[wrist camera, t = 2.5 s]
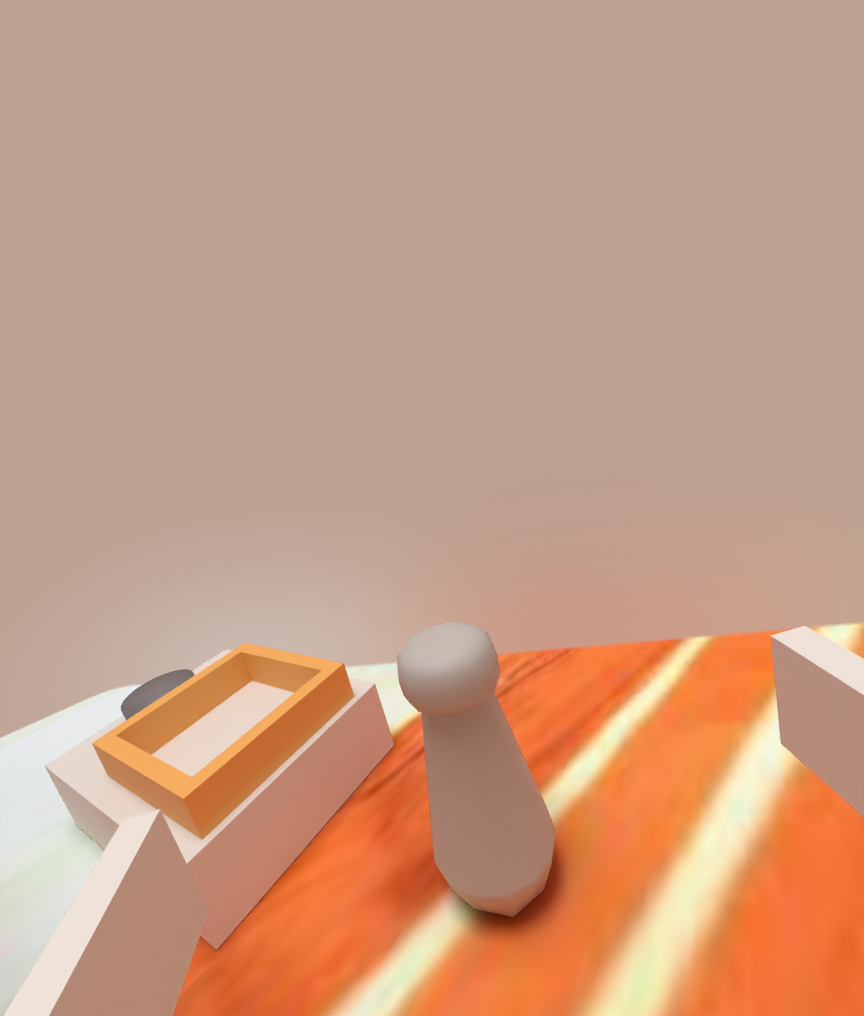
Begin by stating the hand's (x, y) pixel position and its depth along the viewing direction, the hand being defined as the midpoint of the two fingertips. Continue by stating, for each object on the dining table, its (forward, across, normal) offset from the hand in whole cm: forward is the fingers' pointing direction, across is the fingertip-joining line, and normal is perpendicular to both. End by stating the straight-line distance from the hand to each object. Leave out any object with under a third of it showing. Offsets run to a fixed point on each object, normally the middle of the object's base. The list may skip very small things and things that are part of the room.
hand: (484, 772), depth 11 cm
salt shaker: (+10, -1, -16) cm, 19 cm away
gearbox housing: (+23, -18, -15) cm, 33 cm away
